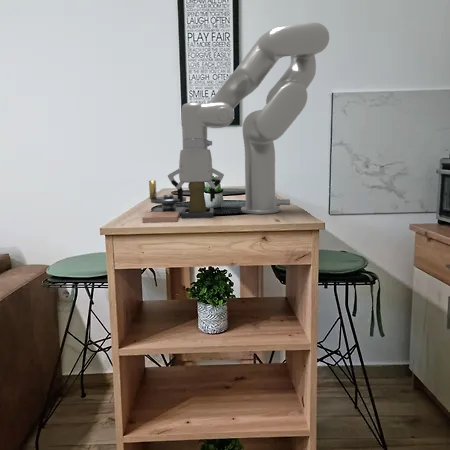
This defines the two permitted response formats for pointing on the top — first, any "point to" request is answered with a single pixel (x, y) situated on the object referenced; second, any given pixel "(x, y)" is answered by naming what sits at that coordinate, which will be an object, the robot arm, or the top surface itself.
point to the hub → (169, 208)
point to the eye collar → (197, 214)
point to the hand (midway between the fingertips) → (196, 201)
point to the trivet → (161, 217)
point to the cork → (197, 197)
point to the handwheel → (162, 200)
